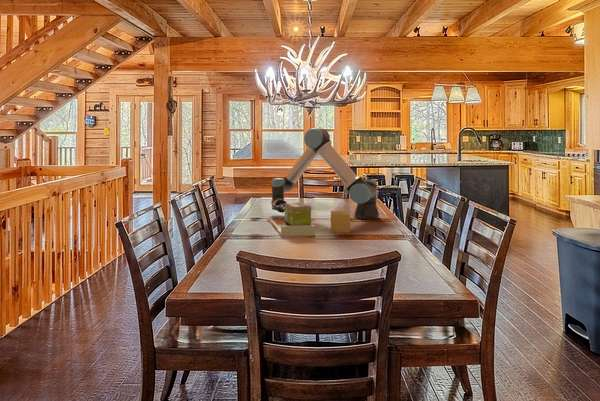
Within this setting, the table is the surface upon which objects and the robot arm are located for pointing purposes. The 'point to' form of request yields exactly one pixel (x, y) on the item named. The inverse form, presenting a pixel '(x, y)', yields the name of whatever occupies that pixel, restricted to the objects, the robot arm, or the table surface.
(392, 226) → the table surface
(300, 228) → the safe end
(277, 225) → the track rails
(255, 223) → the table surface
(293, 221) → the tea box
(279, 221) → the trap pads
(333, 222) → the cheese
